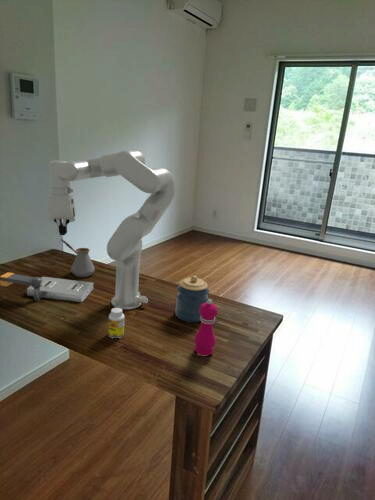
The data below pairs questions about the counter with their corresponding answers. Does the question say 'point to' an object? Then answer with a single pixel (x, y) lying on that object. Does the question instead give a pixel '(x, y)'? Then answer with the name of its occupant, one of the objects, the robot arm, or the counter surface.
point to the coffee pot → (81, 262)
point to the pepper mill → (206, 329)
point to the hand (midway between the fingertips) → (63, 234)
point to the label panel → (63, 289)
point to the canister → (191, 298)
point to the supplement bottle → (116, 323)
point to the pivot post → (37, 294)
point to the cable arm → (20, 280)
